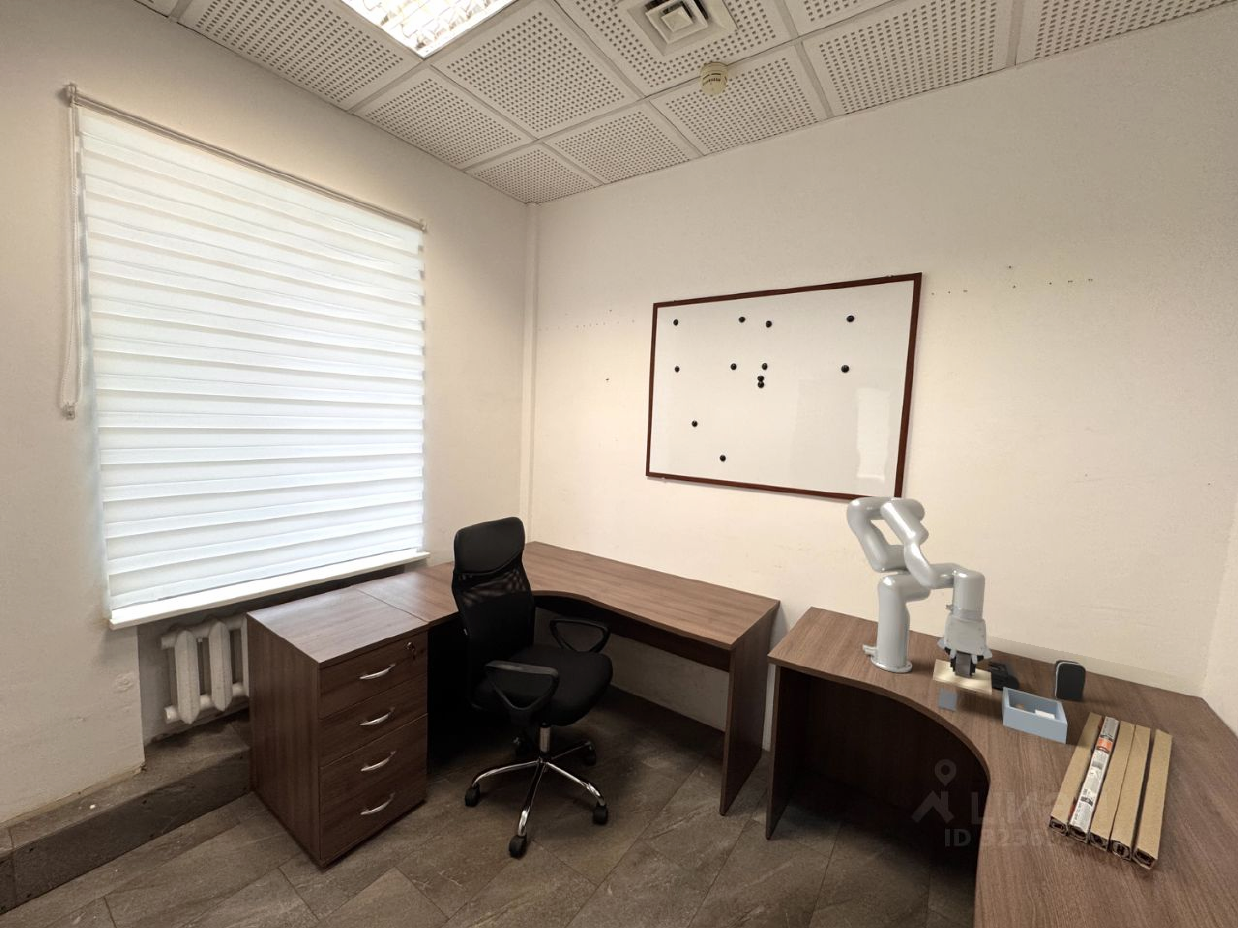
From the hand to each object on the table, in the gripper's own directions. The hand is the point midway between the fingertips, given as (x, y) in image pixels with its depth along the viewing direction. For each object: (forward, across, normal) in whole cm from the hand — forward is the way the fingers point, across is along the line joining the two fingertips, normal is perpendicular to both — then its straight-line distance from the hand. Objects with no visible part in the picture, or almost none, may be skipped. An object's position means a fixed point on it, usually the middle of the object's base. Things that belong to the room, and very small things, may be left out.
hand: (962, 671), depth 150 cm
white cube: (+10, +19, -2) cm, 22 cm away
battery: (+11, +27, +25) cm, 38 cm away
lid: (+2, 0, 0) cm, 2 cm away
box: (+10, +17, 0) cm, 20 cm away
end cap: (+11, +11, +20) cm, 25 cm away
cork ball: (+8, +14, +2) cm, 17 cm away
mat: (+10, 0, 0) cm, 10 cm away
